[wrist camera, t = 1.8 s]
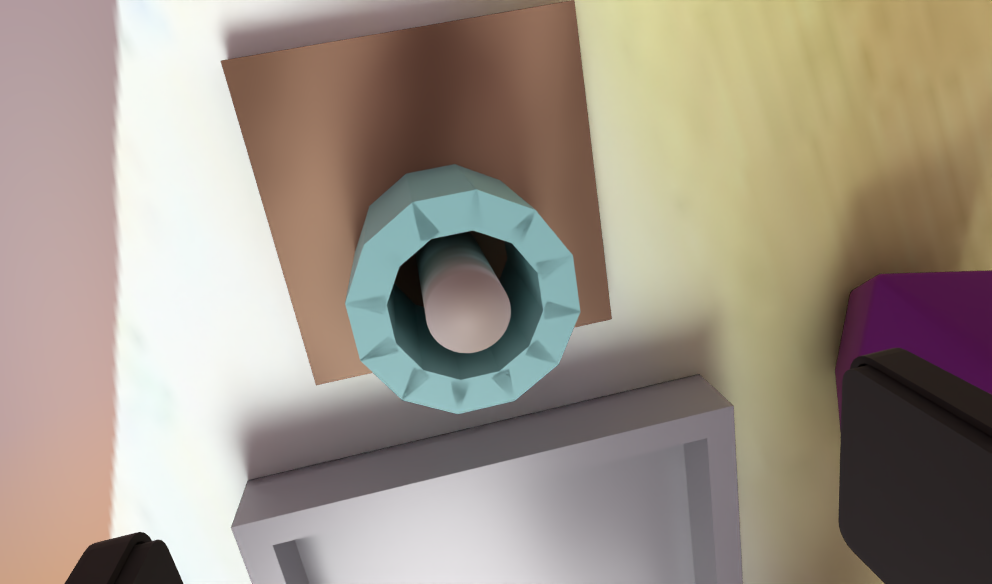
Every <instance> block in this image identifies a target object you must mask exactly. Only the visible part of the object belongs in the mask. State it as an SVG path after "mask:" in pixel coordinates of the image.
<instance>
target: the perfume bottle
mask: <svg viewBox="0 0 992 584" xmlns="http://www.w3.org/2000/svg"><path fill="white" fill-rule="evenodd" d="M891 348H902V349H905V350H907V351H909V352H911V353H913V354H915V355H917V356H919V357H920V358H922V359H924V360H926V361H928V362H930V363H932V364H934V365H936V366H938V367H940V368H942V369H943V370H945V371H947V372H949V373H951V374H953V375H955V376H957V377H959V378H961V379H963V380H965V381H966V382H968V383H970V384H972V385H974V386H976V387H978V388H980V389H982V390H984V391H986V392H988V393H989V394H991V395H992V271H959V272H926V273H892V274H879V275H877V276H875V277H873V278H872V279H870V280H868V281H867V282H865V283H864V284H862V285H860V286H859V287H857V288H855V289H854V290H852V292H851V294H850V297H849V302H848V307H847V312H846V317H845V322H844V328H843V333H842V338H841V343H840V348H839V353H838V358H837V363H836V368H835V375H836V386H837V397H838V408H839V420H840V431H841V408H842V379H843V375H844V373H845V372H846V371H847V370H849V369H850V366H851V364H852V362H853V360H854V359H855V358H857V357H858V356H862V355H867V354H871V353H875V352H879V351H883V350H887V349H891Z"/></svg>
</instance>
